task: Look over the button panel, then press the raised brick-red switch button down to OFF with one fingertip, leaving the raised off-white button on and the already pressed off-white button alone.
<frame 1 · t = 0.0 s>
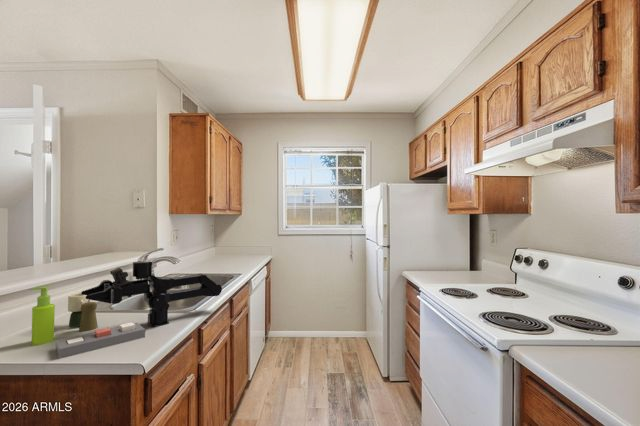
hand: (83, 295, 109), 17 cm above the worktop, tool horizontal, fingers open, 9 cm apart
button 1: (75, 344, 100), point 2 cm above the worktop, slide at 1.4 cm
red button: (102, 334, 105), point 3 cm above the worktop, slide at 0.0 cm
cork: (88, 330, 119), on the worktop
button panel: (102, 344, 105), on the worktop
button 2: (127, 328, 111), point 3 cm above the worktop, slide at 0.0 cm
soap dispenser: (41, 343, 106), on the worktop
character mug: (78, 326, 124), on the worktop
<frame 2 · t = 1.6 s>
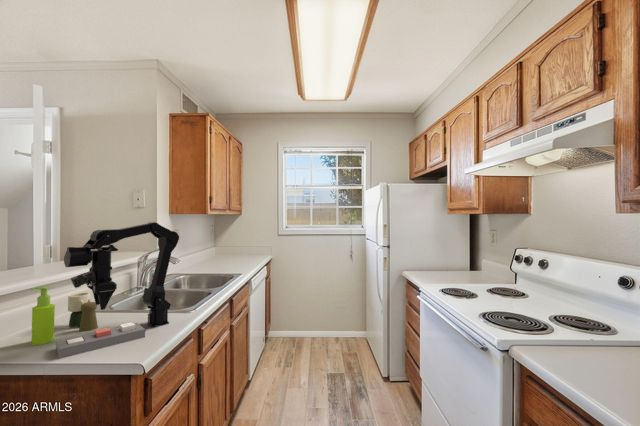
hand: (100, 307, 109), 12 cm above the worktop, tool pointing down, fingers open, 9 cm apart
nothing on the worktop moved.
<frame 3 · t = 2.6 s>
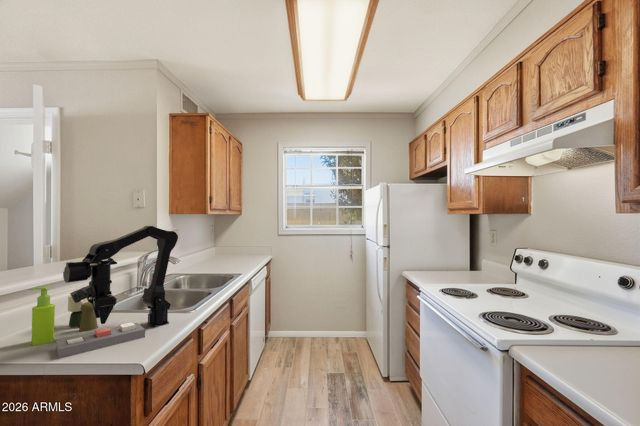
hand: (100, 320, 109), 7 cm above the worktop, tool pointing down, fingers open, 9 cm apart
nothing on the worktop moved.
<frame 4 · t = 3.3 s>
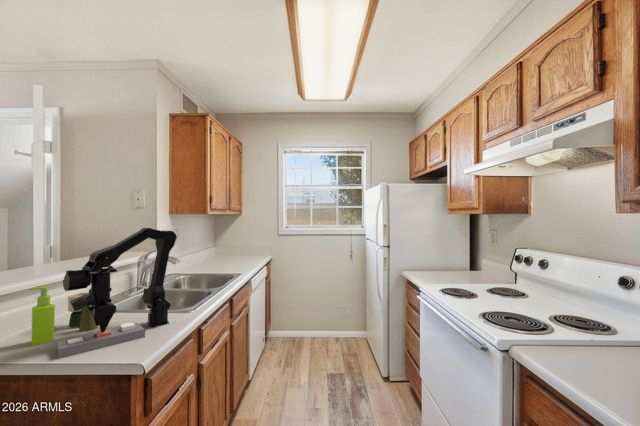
hand: (100, 328, 109), 4 cm above the worktop, tool pointing down, fingers open, 9 cm apart
red button: (102, 336, 105), point 3 cm above the worktop, slide at 0.7 cm, touching gripper
everything else where it was.
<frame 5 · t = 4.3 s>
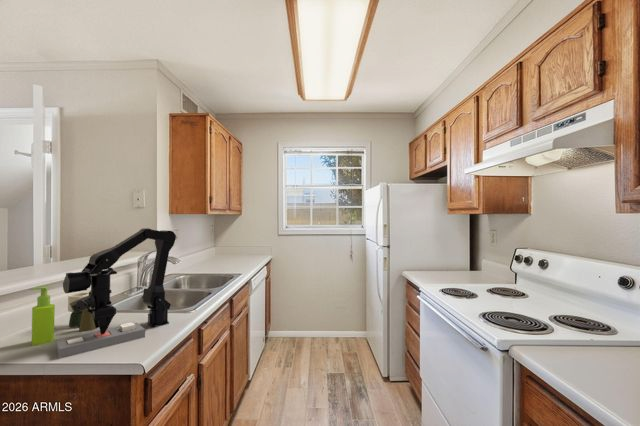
hand: (100, 330, 109), 3 cm above the worktop, tool pointing down, fingers open, 9 cm apart
red button: (102, 338, 105), point 2 cm above the worktop, slide at 1.5 cm, touching gripper
everything else where it was.
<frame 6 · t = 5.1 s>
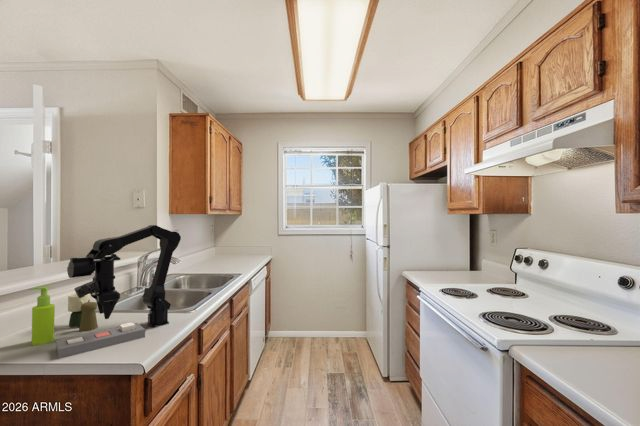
hand: (104, 316, 110), 9 cm above the worktop, tool pointing down, fingers open, 9 cm apart
red button: (102, 338, 105), point 2 cm above the worktop, slide at 1.5 cm
everything else where it was.
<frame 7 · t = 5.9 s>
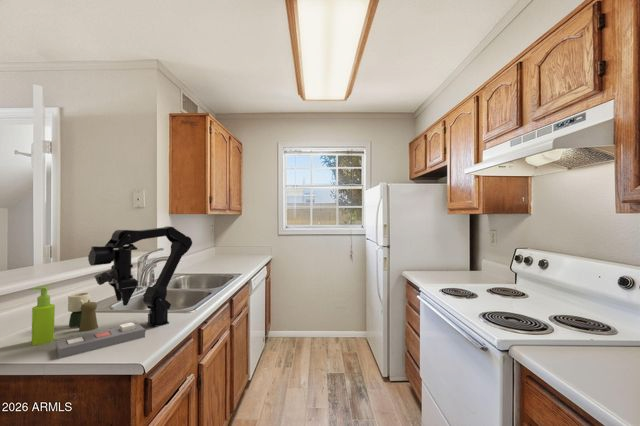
hand: (121, 303, 115), 12 cm above the worktop, tool pointing down, fingers open, 9 cm apart
nothing on the worktop moved.
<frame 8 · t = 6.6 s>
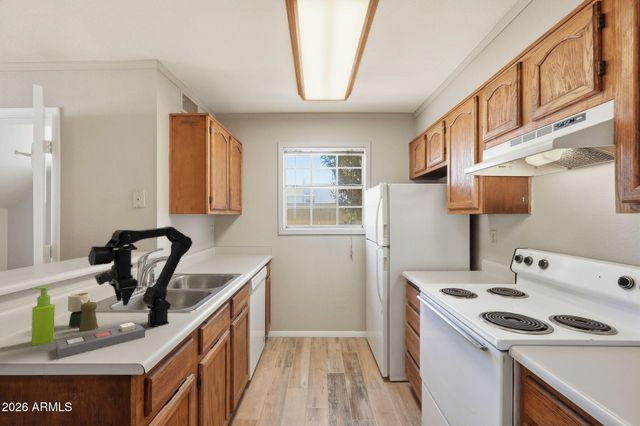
hand: (121, 303, 115), 12 cm above the worktop, tool pointing down, fingers open, 9 cm apart
nothing on the worktop moved.
at the end: red button slide at 1.5 cm; button 2 slide at 0.0 cm; button 1 slide at 1.4 cm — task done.
